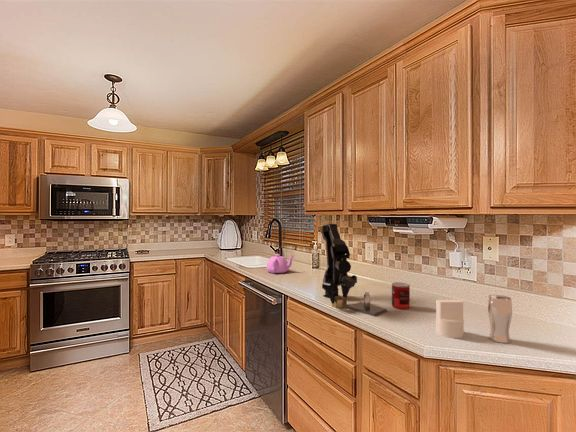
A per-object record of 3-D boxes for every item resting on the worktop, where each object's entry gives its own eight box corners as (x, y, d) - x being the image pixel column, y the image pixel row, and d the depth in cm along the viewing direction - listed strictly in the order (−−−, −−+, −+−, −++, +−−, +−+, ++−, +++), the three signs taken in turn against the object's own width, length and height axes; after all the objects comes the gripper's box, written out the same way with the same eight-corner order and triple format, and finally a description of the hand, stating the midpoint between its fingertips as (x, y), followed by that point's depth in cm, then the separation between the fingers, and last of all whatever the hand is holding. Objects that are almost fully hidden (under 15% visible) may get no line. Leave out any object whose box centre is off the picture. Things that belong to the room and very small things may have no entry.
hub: (328, 305, 147) (328, 298, 147) (337, 302, 152) (337, 295, 152) (340, 308, 142) (340, 301, 142) (349, 305, 146) (349, 298, 146)
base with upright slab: (454, 328, 117) (454, 297, 117) (469, 338, 108) (469, 304, 108) (431, 329, 117) (431, 297, 117) (444, 338, 108) (444, 304, 108)
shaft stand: (347, 308, 141) (347, 291, 141) (360, 304, 148) (360, 288, 148) (374, 316, 131) (374, 297, 131) (386, 311, 138) (386, 293, 138)
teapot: (291, 275, 219) (291, 256, 219) (262, 274, 224) (262, 255, 224) (297, 270, 241) (297, 253, 241) (271, 269, 246) (271, 252, 246)
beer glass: (514, 345, 102) (515, 300, 102) (490, 342, 105) (490, 298, 105) (508, 337, 109) (508, 295, 109) (485, 334, 111) (485, 293, 111)
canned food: (395, 303, 150) (395, 281, 150) (411, 306, 145) (411, 283, 145) (389, 307, 144) (389, 284, 144) (406, 310, 139) (406, 286, 139)
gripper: (340, 274, 134) (340, 309, 134) (364, 269, 147) (364, 301, 147) (321, 270, 143) (321, 303, 143) (345, 266, 155) (345, 296, 155)
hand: (339, 301), depth 147 cm, fingers open, 9 cm apart
